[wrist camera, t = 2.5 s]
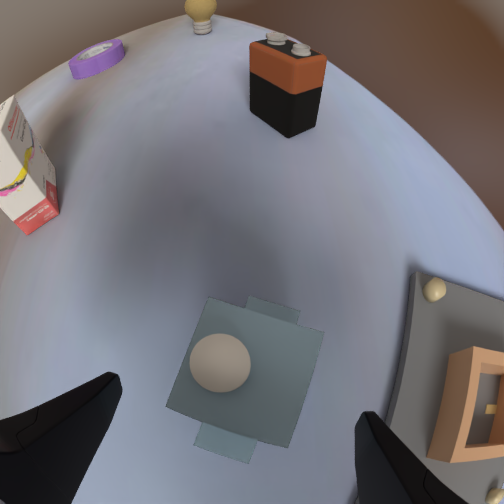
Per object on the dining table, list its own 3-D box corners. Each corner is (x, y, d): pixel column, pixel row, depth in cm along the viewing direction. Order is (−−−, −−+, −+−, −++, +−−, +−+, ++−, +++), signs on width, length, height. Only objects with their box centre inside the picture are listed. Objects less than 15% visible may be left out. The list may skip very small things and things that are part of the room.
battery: (276, 101, 31) (281, 28, 22) (317, 128, 29) (331, 48, 20) (247, 112, 30) (246, 34, 21) (287, 141, 27) (296, 54, 19)
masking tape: (130, 48, 45) (126, 34, 42) (118, 68, 40) (113, 52, 36) (83, 63, 44) (79, 50, 41) (65, 86, 39) (59, 71, 35)
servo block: (256, 452, 15) (261, 517, 5) (197, 432, 15) (136, 472, 6) (298, 328, 19) (343, 259, 9) (242, 311, 19) (233, 226, 10)
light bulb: (224, 30, 46) (222, -9, 37) (203, 38, 44) (199, -4, 35) (202, 28, 48) (199, -9, 39) (181, 36, 45) (176, -3, 37)
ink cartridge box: (62, 214, 24) (-15, 102, 11) (27, 237, 22) (-56, 141, 9) (56, 166, 27) (4, 71, 14) (26, 187, 26) (-32, 100, 13)
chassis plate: (490, 503, 9) (516, 509, 6) (345, 522, 12) (364, 544, 8) (525, 315, 18) (550, 301, 14) (410, 276, 20) (435, 253, 17)
